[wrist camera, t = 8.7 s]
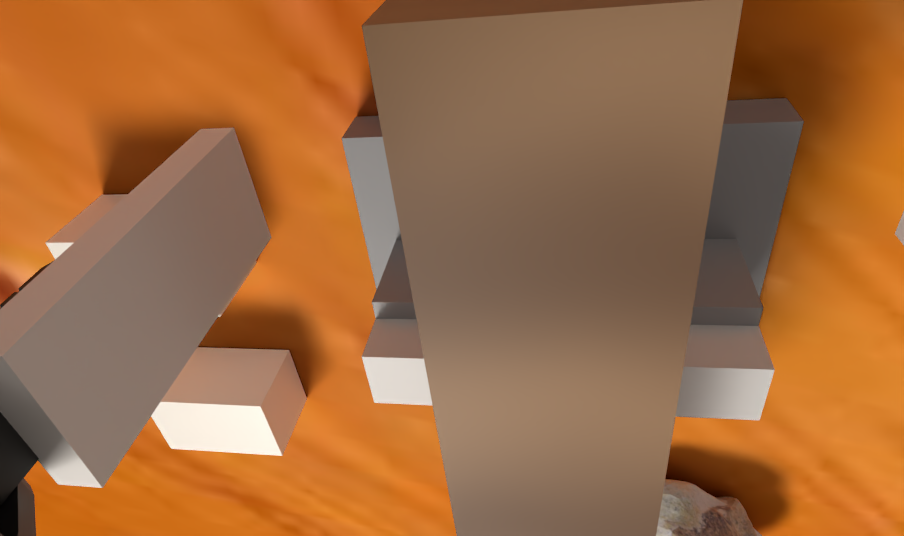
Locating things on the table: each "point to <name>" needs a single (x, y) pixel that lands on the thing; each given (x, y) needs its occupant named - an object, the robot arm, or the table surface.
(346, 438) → the table surface
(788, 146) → the fulcrum
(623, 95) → the bar
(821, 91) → the table surface
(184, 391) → the blocks
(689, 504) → the stone
